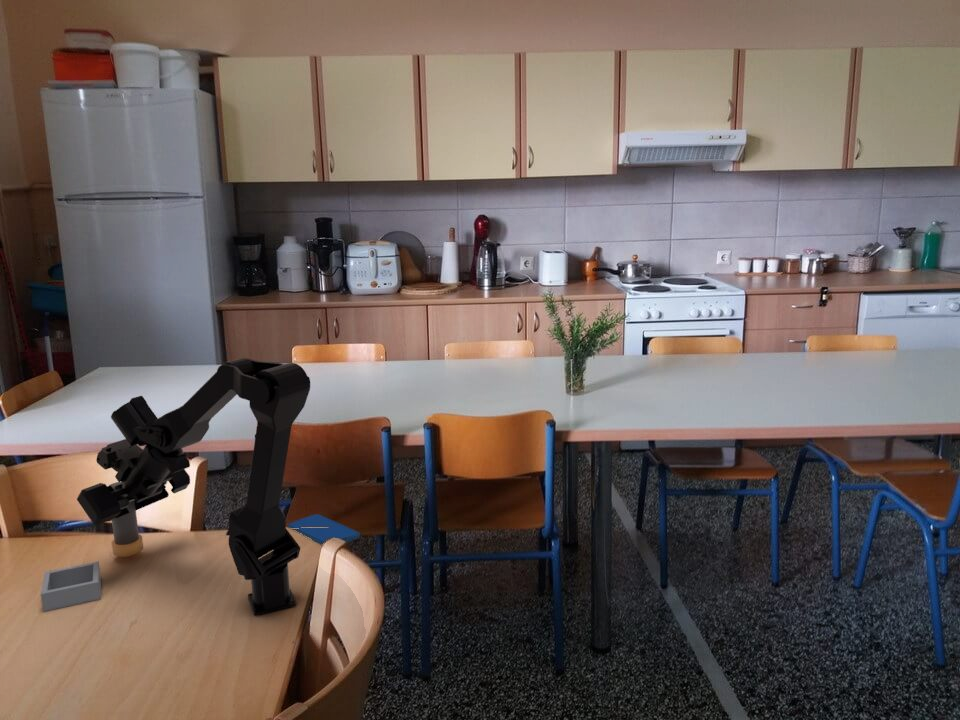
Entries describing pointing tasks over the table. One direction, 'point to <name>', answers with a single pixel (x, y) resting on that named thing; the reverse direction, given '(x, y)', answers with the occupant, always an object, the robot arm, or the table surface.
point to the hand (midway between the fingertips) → (119, 514)
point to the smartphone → (323, 529)
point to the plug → (126, 532)
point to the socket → (71, 586)
